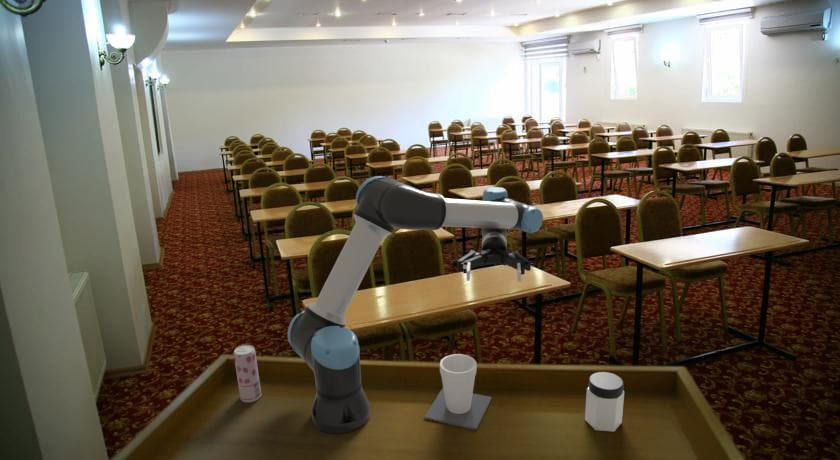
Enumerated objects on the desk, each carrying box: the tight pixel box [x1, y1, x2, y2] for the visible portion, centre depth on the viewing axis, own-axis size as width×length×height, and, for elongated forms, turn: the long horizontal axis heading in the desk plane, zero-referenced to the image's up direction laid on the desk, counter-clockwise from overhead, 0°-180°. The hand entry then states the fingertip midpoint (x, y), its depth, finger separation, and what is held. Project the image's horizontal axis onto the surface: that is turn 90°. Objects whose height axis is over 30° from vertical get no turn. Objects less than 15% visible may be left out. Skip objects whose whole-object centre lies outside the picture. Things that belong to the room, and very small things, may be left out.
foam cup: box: [439, 353, 478, 414], centre depth 159 cm, size 10×9×13 cm
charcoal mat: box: [423, 387, 493, 431], centre depth 161 cm, size 14×14×1 cm
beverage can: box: [233, 344, 262, 403], centre depth 167 cm, size 6×6×15 cm
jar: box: [584, 371, 625, 432], centre depth 152 cm, size 9×8×12 cm
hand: (493, 276), depth 162 cm, fingers open, 13 cm apart
